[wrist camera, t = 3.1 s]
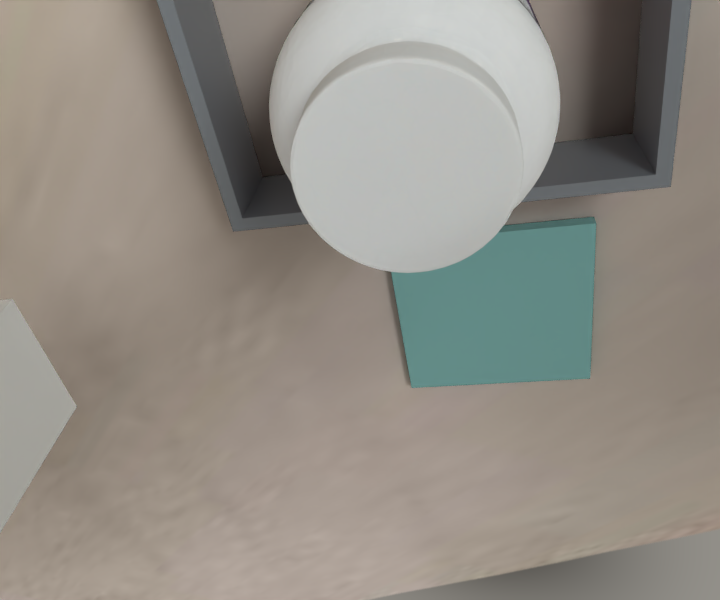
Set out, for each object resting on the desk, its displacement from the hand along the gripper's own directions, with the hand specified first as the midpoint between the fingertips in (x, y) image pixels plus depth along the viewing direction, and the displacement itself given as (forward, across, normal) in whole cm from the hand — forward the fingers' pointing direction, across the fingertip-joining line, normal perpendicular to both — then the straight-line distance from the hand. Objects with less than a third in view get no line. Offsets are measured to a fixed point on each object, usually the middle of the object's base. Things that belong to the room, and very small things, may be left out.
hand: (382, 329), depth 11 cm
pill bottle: (+20, 0, 0) cm, 20 cm away
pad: (+20, +2, -15) cm, 25 cm away
